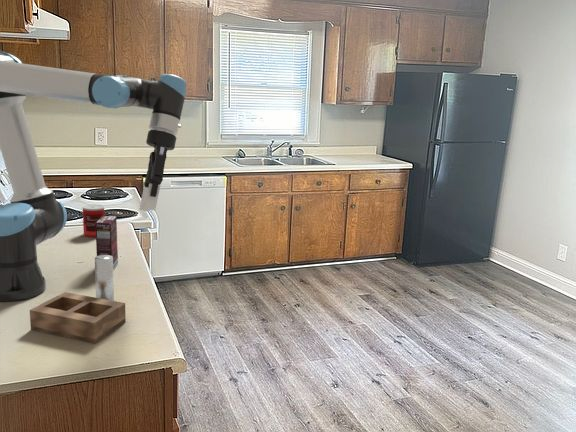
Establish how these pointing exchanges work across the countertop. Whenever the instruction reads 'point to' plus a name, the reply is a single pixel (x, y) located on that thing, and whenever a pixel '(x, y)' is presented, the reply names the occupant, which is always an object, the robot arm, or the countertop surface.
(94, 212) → the red supplement bottle
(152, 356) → the countertop surface
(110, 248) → the supplement box
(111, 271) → the pin
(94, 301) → the socket block
